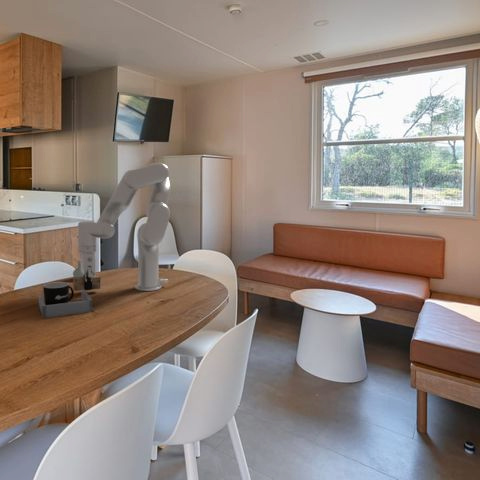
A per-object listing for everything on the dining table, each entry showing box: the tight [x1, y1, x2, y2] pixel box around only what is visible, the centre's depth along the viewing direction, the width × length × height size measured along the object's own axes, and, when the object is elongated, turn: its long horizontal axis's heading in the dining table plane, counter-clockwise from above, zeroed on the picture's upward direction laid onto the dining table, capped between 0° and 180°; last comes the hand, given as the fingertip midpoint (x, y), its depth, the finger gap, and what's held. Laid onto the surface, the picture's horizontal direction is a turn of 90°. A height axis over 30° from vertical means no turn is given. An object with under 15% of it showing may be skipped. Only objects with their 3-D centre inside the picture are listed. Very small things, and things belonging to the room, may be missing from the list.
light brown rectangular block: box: [72, 274, 101, 292], centre depth 170 cm, size 11×4×6 cm, turn 122°
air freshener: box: [72, 258, 96, 277], centre depth 194 cm, size 11×8×10 cm
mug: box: [42, 281, 75, 305], centre depth 149 cm, size 12×9×10 cm
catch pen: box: [38, 289, 94, 319], centre depth 150 cm, size 17×17×4 cm
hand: (87, 288), depth 171 cm, fingers closed on light brown rectangular block, 3 cm apart
